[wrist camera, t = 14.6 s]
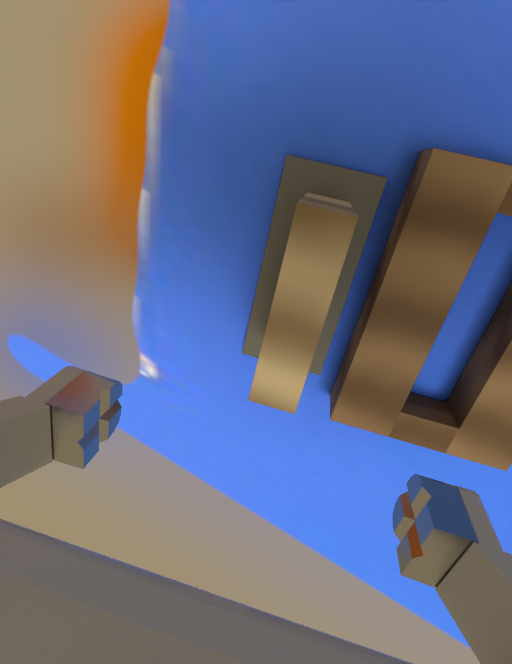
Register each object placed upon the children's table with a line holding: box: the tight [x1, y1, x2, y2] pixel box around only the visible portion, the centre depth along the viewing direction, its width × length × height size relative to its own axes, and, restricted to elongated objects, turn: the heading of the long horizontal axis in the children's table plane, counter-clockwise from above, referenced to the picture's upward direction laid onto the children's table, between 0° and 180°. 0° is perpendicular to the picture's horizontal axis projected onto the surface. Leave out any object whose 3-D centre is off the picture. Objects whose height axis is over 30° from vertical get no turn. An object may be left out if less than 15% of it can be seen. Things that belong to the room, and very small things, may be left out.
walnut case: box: [330, 148, 512, 471], centre depth 26 cm, size 20×14×4 cm
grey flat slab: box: [242, 154, 387, 375], centre depth 28 cm, size 16×7×1 cm, turn 168°
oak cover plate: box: [248, 192, 358, 414], centre depth 24 cm, size 12×3×9 cm, turn 168°
